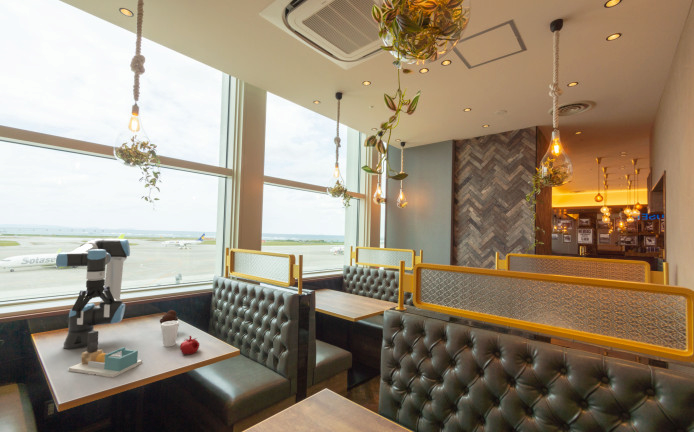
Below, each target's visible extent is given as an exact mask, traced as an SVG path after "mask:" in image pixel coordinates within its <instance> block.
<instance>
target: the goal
mask: <svg viewBox="0 0 694 432" xmlns="http://www.w3.org/2000/svg"><path fill="white" fill-rule="evenodd" d="M138 351H139V350H136V349H135V350H134V349H127V348H126V346H123V347H120V348H118V349H115V350H113V351H110V352H109V353H106V354H105V363H104V369H106V370H114V371H121V370H123V369H125V368H127V367H129V366H131V365H133V364H135V363H137V360H138V356H139V355H138V354H139V352H138ZM119 352H121V357H120V358H119V357H111V356H110V355H112V354H113V355H116V354H117V353H119Z"/></svg>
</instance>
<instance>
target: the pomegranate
mask: <svg viewBox="0 0 694 432" xmlns="http://www.w3.org/2000/svg"><path fill="white" fill-rule="evenodd" d="M199 348H200V342H198V337H197V338H196V337H195V338H193V337H192V335H189V337H188V338H186V339H183V341H182V342H181V343H180V347H179V349H180V352H181V354H183V355H193V354H195V353H196V352H197V351H198V350H199Z"/></svg>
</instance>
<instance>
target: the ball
mask: <svg viewBox="0 0 694 432" xmlns="http://www.w3.org/2000/svg"><path fill="white" fill-rule="evenodd" d="M105 354H107V352H106V353H105V352H103V353H101V354H99V355H98V356H97V357H96V362H102V363H105Z"/></svg>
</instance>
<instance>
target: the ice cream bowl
mask: <svg viewBox="0 0 694 432" xmlns="http://www.w3.org/2000/svg"><path fill="white" fill-rule="evenodd" d="M177 315H178V313H177V311H175V310H174V309H170V310H168V311H167V312H166V313H165V314H164V315H163V316H162V317H161V318H159V323H160V325H161V324H162V323H163V322H167V321H178V320H179V317H178V316H177ZM178 322H179V321H178Z"/></svg>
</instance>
